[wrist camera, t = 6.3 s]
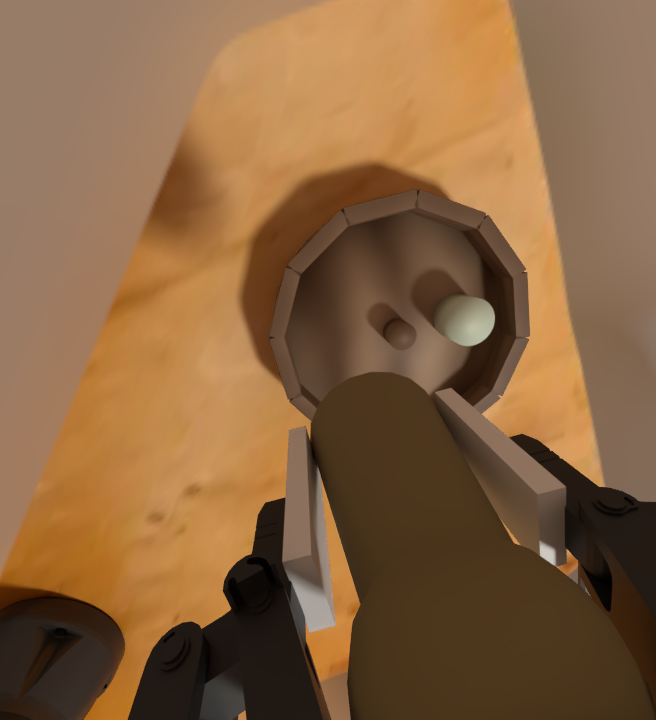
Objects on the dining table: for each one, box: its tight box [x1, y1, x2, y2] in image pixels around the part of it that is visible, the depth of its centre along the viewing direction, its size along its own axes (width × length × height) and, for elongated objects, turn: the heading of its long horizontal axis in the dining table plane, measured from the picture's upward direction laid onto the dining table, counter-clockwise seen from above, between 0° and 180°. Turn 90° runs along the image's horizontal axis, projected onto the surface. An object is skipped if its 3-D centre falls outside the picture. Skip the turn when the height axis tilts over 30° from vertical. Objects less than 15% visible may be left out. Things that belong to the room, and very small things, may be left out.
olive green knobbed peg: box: [310, 372, 656, 720], centre depth 10 cm, size 6×6×11 cm
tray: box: [269, 189, 530, 421], centre depth 29 cm, size 22×22×3 cm
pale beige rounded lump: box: [433, 294, 495, 346], centre depth 28 cm, size 4×4×3 cm
